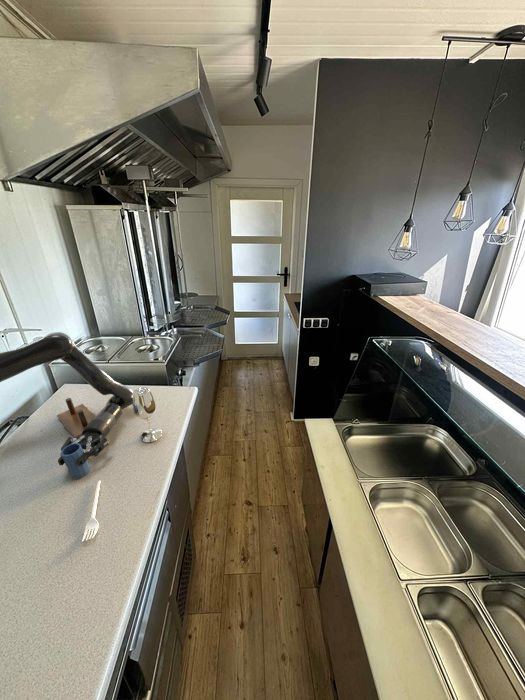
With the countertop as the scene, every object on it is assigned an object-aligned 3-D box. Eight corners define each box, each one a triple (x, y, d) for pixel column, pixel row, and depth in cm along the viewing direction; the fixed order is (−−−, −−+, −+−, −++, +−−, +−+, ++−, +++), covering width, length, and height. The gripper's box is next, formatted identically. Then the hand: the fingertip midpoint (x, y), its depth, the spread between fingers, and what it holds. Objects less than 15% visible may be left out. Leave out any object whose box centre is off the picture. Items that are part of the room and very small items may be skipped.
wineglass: (137, 435, 108) (125, 391, 100) (157, 425, 113) (147, 382, 104) (145, 446, 103) (133, 401, 94) (166, 435, 108) (156, 391, 99)
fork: (105, 480, 90) (104, 476, 90) (96, 542, 73) (94, 537, 73) (94, 483, 89) (92, 479, 89) (82, 546, 72) (79, 542, 72)
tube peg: (74, 481, 90) (64, 458, 86) (68, 473, 93) (58, 450, 89) (92, 470, 94) (83, 448, 89) (86, 462, 97) (76, 440, 92)
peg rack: (76, 439, 107) (69, 422, 103) (57, 418, 118) (50, 401, 115) (103, 425, 114) (98, 408, 110) (83, 406, 125) (77, 390, 121)
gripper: (78, 418, 102) (42, 454, 87) (116, 419, 101) (87, 455, 86) (84, 434, 106) (51, 471, 90) (121, 435, 105) (94, 473, 89)
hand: (69, 463), depth 88 cm, fingers closed on tube peg, 5 cm apart
